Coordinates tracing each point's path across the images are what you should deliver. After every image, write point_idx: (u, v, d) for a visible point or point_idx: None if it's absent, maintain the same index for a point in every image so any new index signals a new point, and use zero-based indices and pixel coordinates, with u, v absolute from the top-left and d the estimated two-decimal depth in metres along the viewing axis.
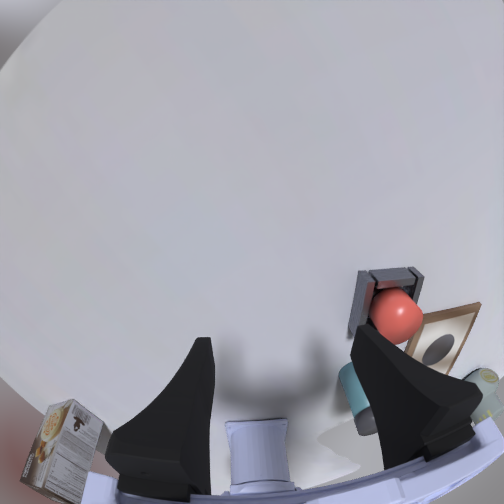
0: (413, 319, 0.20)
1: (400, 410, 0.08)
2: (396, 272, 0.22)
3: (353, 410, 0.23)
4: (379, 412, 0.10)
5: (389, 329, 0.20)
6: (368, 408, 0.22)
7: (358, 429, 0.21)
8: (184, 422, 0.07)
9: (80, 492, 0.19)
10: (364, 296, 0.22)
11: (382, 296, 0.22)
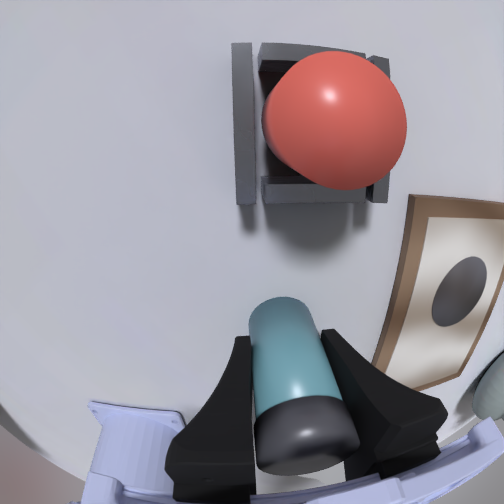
0: (373, 103, 0.06)
1: (357, 422, 0.08)
2: None
3: (255, 408, 0.10)
4: None
5: (295, 117, 0.07)
6: (283, 406, 0.08)
7: (256, 460, 0.08)
8: (246, 422, 0.07)
9: None
10: (232, 78, 0.08)
11: None
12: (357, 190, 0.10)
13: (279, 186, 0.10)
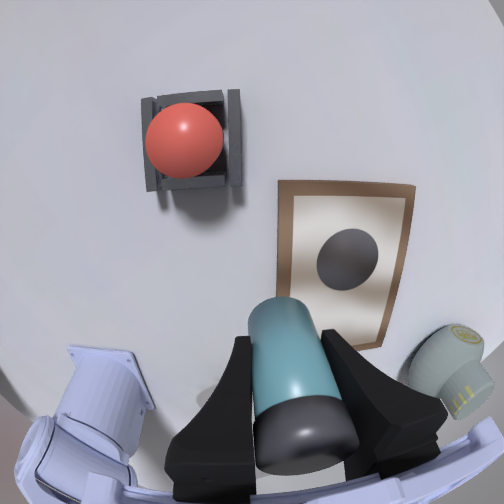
0: (198, 128, 0.13)
1: (357, 422, 0.08)
2: None
3: (254, 407, 0.10)
4: None
5: (155, 144, 0.13)
6: (282, 406, 0.08)
7: (256, 460, 0.08)
8: (246, 422, 0.07)
9: None
10: (142, 120, 0.15)
11: None
12: (218, 179, 0.17)
13: (168, 179, 0.16)
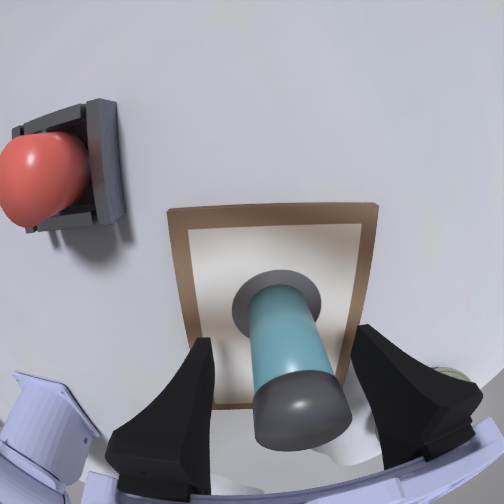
0: (33, 165, 0.08)
1: (400, 410, 0.08)
2: None
3: None
4: (379, 412, 0.10)
5: (3, 189, 0.08)
6: (279, 379, 0.09)
7: (255, 433, 0.09)
8: (184, 422, 0.07)
9: None
10: None
11: None
12: (85, 217, 0.12)
13: None
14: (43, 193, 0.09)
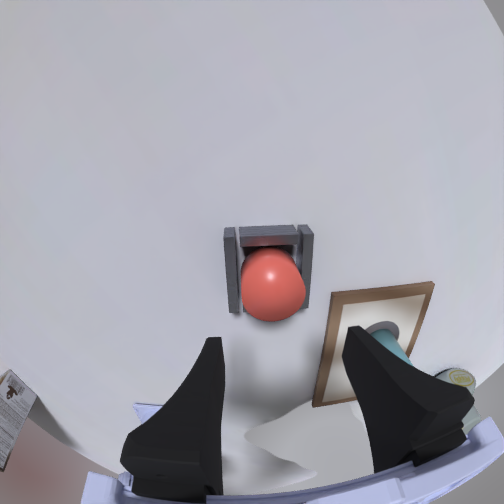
0: (288, 287, 0.17)
1: (389, 413, 0.08)
2: (274, 229, 0.20)
3: None
4: (369, 415, 0.10)
5: (251, 297, 0.17)
6: None
7: None
8: (201, 423, 0.07)
9: (5, 456, 0.16)
10: (225, 256, 0.19)
11: (250, 257, 0.19)
12: None
13: None
14: (293, 303, 0.18)
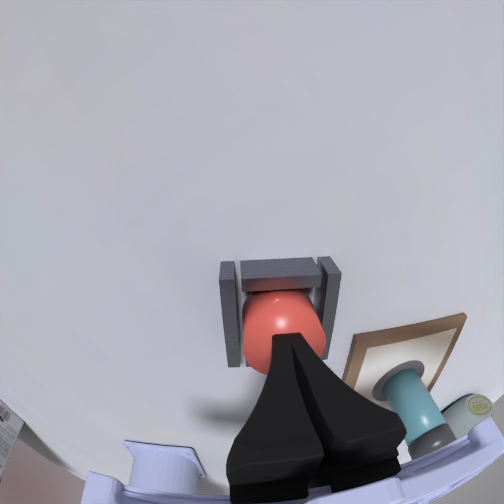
0: None
1: None
2: (288, 265, 0.14)
3: (407, 435, 0.15)
4: None
5: (256, 352, 0.13)
6: (430, 432, 0.13)
7: None
8: (304, 417, 0.07)
9: None
10: (221, 303, 0.14)
11: (255, 296, 0.15)
12: None
13: None
14: None
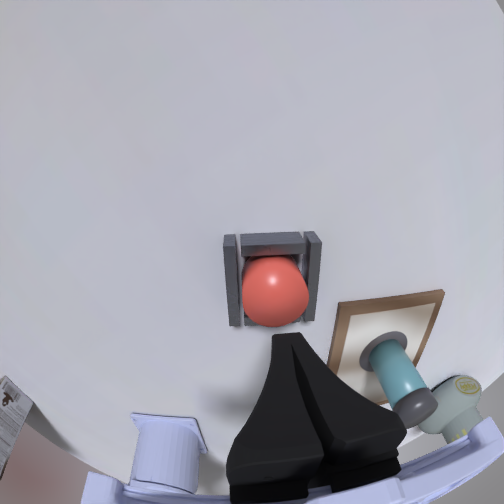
0: (290, 292, 0.16)
1: None
2: (279, 236, 0.18)
3: (391, 398, 0.18)
4: None
5: (252, 303, 0.17)
6: (411, 394, 0.17)
7: None
8: (304, 417, 0.07)
9: (2, 464, 0.15)
10: (225, 266, 0.17)
11: (252, 260, 0.18)
12: None
13: None
14: (296, 308, 0.17)
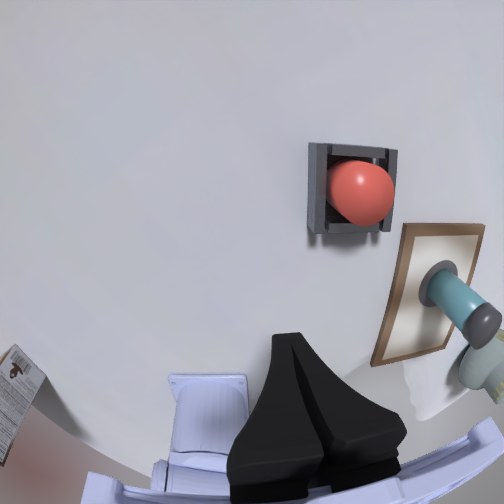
0: (380, 187, 0.16)
1: None
2: (359, 145, 0.17)
3: (460, 317, 0.17)
4: None
5: (347, 196, 0.16)
6: (480, 307, 0.16)
7: (473, 336, 0.15)
8: (304, 417, 0.07)
9: (5, 447, 0.14)
10: (316, 165, 0.17)
11: (336, 165, 0.18)
12: (374, 225, 0.19)
13: (335, 224, 0.18)
14: (383, 206, 0.16)
